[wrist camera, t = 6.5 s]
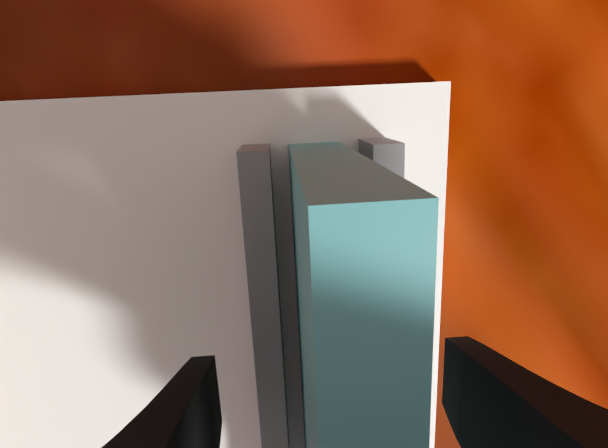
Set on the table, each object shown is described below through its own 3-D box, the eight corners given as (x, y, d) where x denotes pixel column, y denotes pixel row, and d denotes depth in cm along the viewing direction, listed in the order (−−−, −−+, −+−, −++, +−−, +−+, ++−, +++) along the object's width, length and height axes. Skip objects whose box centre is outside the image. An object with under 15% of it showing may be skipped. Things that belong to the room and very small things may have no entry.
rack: (423, 473, 17) (465, 577, 13) (-204, 529, 16) (-354, 662, 12) (438, 83, 13) (504, 73, 9) (-396, 119, 12) (-708, 126, 8)
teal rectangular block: (347, 471, 16) (415, 817, 8) (306, 474, 16) (336, 827, 8) (339, 141, 13) (438, 197, 5) (288, 144, 13) (308, 205, 5)
